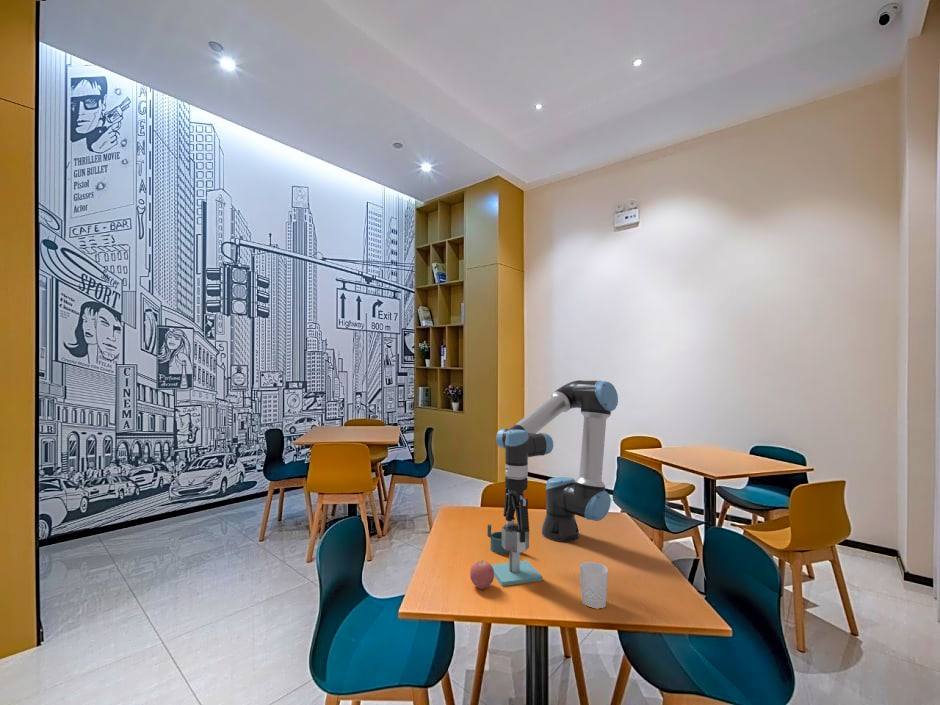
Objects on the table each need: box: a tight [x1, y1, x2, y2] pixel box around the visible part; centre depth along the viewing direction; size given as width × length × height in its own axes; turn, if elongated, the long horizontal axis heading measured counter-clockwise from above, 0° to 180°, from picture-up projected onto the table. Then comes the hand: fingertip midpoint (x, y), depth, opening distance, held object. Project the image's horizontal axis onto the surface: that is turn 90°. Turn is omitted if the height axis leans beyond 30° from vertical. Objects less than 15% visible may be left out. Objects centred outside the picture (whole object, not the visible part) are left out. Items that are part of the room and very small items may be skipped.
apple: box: [469, 560, 495, 589], centre depth 128 cm, size 7×7×8 cm
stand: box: [491, 551, 544, 587], centre depth 136 cm, size 14×12×9 cm
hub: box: [501, 522, 530, 552], centre depth 137 cm, size 8×8×6 cm
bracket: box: [486, 524, 511, 555], centre depth 156 cm, size 9×9×9 cm
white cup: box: [579, 561, 609, 609], centre depth 120 cm, size 8×8×10 cm
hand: (515, 545), depth 136 cm, fingers closed on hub, 8 cm apart
